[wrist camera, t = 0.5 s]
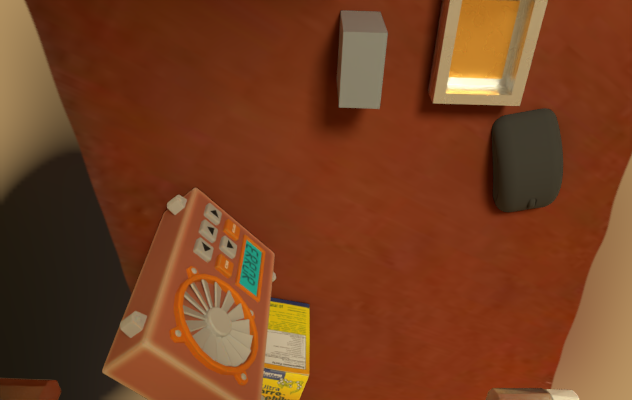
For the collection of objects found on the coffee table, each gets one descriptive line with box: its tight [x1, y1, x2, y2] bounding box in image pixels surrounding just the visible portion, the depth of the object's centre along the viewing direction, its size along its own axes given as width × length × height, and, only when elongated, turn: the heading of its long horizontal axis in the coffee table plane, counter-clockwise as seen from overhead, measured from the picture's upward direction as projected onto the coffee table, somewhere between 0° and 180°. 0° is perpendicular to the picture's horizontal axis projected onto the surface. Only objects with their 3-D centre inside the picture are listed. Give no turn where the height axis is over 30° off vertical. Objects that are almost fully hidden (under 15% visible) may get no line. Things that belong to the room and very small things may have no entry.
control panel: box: [102, 188, 276, 400], centre depth 53 cm, size 21×7×15 cm
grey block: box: [337, 11, 388, 109], centre depth 47 cm, size 6×4×6 cm, turn 178°
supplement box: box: [262, 298, 310, 400], centre depth 65 cm, size 6×6×11 cm
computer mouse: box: [492, 109, 563, 212], centre depth 55 cm, size 6×11×4 cm, turn 11°
